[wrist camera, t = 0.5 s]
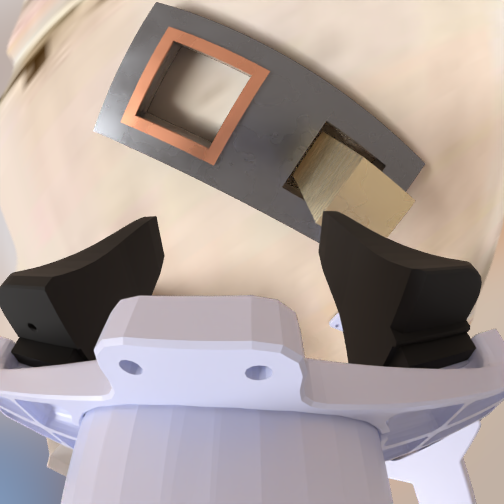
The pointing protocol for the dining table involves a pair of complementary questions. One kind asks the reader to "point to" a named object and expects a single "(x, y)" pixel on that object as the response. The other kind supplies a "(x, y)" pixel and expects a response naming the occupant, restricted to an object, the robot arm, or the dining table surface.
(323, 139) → the brass peg
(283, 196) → the socket rail
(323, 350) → the dining table surface
